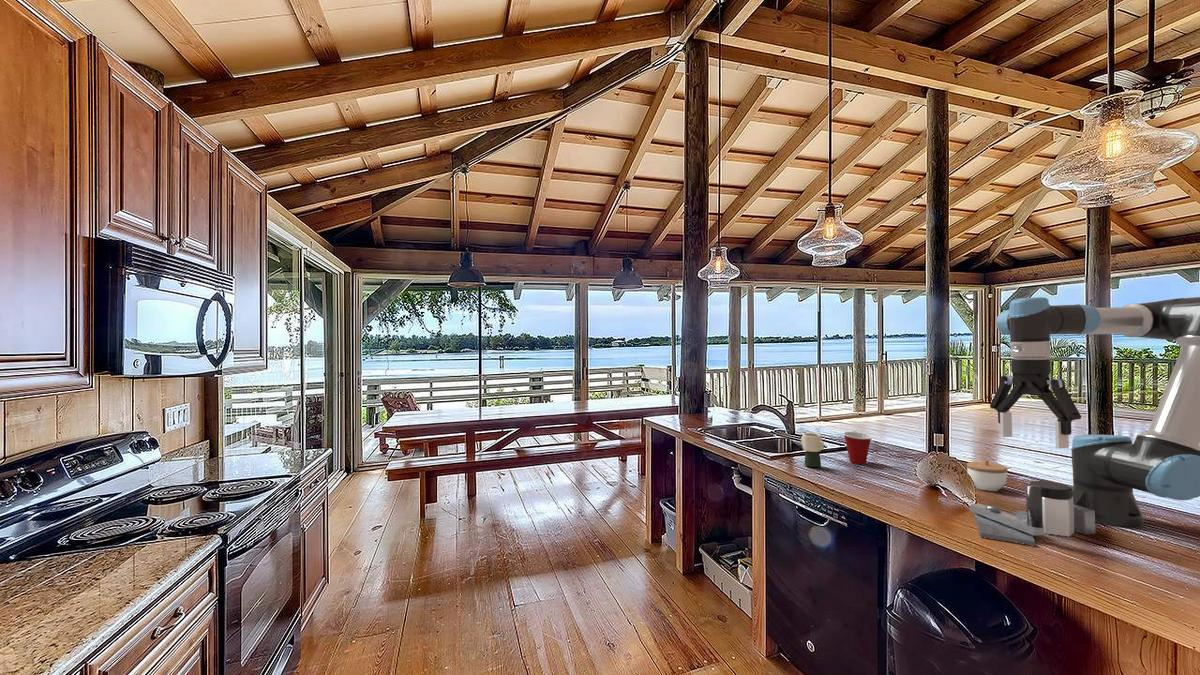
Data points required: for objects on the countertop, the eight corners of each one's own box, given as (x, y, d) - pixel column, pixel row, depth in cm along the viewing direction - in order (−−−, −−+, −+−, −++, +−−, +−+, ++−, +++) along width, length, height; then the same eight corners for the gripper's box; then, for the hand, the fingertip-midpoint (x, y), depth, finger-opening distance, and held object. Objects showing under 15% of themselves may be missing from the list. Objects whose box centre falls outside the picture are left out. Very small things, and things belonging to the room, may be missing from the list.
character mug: (830, 468, 189) (829, 436, 189) (817, 471, 186) (816, 437, 186) (808, 462, 199) (807, 431, 199) (795, 464, 196) (794, 433, 196)
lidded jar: (962, 488, 162) (962, 460, 162) (972, 481, 168) (972, 455, 168) (1003, 495, 153) (1002, 466, 153) (1011, 488, 160) (1011, 461, 160)
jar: (1084, 536, 121) (1083, 489, 121) (1054, 538, 121) (1053, 490, 121) (1049, 523, 130) (1048, 479, 130) (1021, 524, 130) (1019, 480, 130)
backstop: (1061, 522, 131) (1060, 500, 131) (1095, 533, 123) (1094, 510, 123) (1052, 523, 130) (1051, 501, 130) (1085, 534, 122) (1084, 511, 122)
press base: (1019, 518, 134) (1019, 514, 134) (1035, 546, 116) (1035, 541, 116) (972, 511, 140) (972, 507, 140) (980, 537, 122) (980, 532, 122)
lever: (970, 511, 136) (969, 469, 136) (986, 509, 137) (984, 468, 137) (1035, 536, 118) (1034, 488, 119) (1053, 534, 119) (1052, 487, 119)
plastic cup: (868, 467, 189) (867, 437, 189) (839, 463, 197) (838, 434, 197) (877, 462, 196) (876, 433, 196) (849, 458, 204) (848, 430, 204)
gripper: (972, 357, 133) (974, 433, 132) (1072, 360, 108) (1075, 454, 108) (995, 356, 134) (998, 432, 133) (1100, 359, 109) (1103, 452, 109)
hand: (1032, 442), depth 120 cm, fingers open, 13 cm apart
